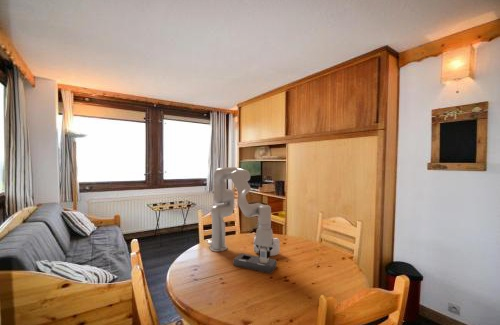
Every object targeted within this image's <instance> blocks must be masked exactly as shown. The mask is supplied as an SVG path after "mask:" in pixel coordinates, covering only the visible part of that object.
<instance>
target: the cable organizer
mask: <svg viewBox="0 0 500 325" xmlns="http://www.w3.org/2000/svg"><path fill="white" fill-rule="evenodd" d="M255 239H256V235H255V236H254V237H253V243H254V242H255ZM273 242H274V243H275V245H276V247H275V248H273V249H272V250H270V257H275V256H276V255H279V254H280V251H281V250H280V246H281V245H280V242H281V241H280V238H278V237H273ZM262 247H263V246H262ZM271 247H272V246H271ZM253 252H254V253H256V254H259V250H258V248H257V247H256V246H255V245H254V244H253Z"/></svg>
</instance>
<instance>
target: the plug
mask: <svg viewBox="0 0 500 325" xmlns="http://www.w3.org/2000/svg"><path fill="white" fill-rule="evenodd" d="M269 258H270V257H269ZM269 258H267V247H264V246H263V247H262V248H260V263H265V264H267V263H268V262H269Z"/></svg>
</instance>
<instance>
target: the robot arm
mask: <svg viewBox="0 0 500 325" xmlns="http://www.w3.org/2000/svg"><path fill="white" fill-rule="evenodd" d="M225 180H231V181H232V183H233V185H234V186H235V189H236V191H237V193H238V197H237V198H238V199H237V201H238V206H239V208H240V211H241V212H242V214H243V215H244V216H245V217H246V218H253V217H256V216H258V217H257V219H258V221H257V223H256V226H257V227H256V232H255V236H256V239H255V242H254V241H253V246H254V245H255V246H256V247H257V248H258V250H259V253H258V255H259V257H260V248H262V246H264V247H267V258H270V257H271V256H270V250H272V249H273V248H275V247H276V245H275V243H274V242H273V238H274V233H273V228H272V206H270V205H268V204H263V203H261V202H256V203H250V204H249V202H248V200H247V194H249V192H250V191H251V189H252V188H251V186H250V184H249V181H250V180H251V173H250V172H249V170H247V169H244V168H240V167H232V166H231V167H225V166H224V167H218V168H217V169H216V170H215V171H214V173H213V181H214V185H213V186H214V187H213V201H214V203H216V205H213V206H212V207H211V209H210V216H211V217H210V218H211V240H208V241H207V245H209V250H210V251H212V252H216V253H217V252H224V251H226V250H227V249H228V245H227V244H226V222H225V220H224V219H223V218H226V217H227V218H228V217H230V216H232V215H233V213H234V208H235V193H234V191H233V190H232V189H231V188H230V189H229V188H227V183H226V181H225ZM271 246H272V247H271Z"/></svg>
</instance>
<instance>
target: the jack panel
mask: <svg viewBox="0 0 500 325" xmlns="http://www.w3.org/2000/svg"><path fill="white" fill-rule="evenodd" d="M233 266H236V267H240V268H244V269H249V270H252V271H256V272H261V273H267V274H272V273H273V272H274V271H275V269H276V268H277V259H274V258H270V257H269V262H268V263H267V264H265V263H260V257H259V256H258V255H255V254H254V255H253V254H250V253H249V254H248V253H243V252H240V253H239V254H238V255H237V256H235V257H234V258H233Z"/></svg>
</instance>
